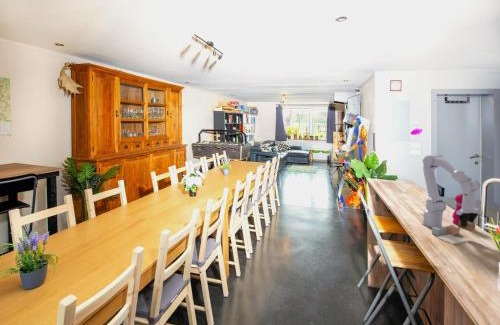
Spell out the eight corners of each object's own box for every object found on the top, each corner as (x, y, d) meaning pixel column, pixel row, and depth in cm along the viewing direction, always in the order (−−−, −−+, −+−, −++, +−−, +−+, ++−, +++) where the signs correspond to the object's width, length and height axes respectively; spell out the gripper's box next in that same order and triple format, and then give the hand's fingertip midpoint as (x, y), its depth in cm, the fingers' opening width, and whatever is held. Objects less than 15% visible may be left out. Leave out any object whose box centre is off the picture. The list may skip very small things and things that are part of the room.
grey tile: (437, 238, 159) (437, 236, 159) (449, 235, 162) (449, 234, 161) (453, 244, 150) (453, 242, 150) (465, 241, 153) (465, 240, 153)
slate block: (438, 236, 161) (438, 229, 161) (431, 234, 165) (432, 227, 164) (446, 235, 163) (446, 228, 162) (439, 232, 167) (440, 226, 166)
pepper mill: (452, 220, 185) (454, 190, 182) (466, 223, 180) (468, 192, 177) (451, 223, 179) (453, 192, 176) (465, 226, 175) (468, 194, 172)
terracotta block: (452, 235, 162) (452, 228, 162) (445, 233, 166) (445, 226, 165) (459, 233, 164) (459, 227, 164) (452, 231, 168) (452, 224, 167)
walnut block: (458, 227, 159) (459, 220, 159) (463, 226, 161) (464, 219, 160) (469, 231, 154) (470, 224, 153) (474, 230, 155) (475, 223, 154)
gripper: (466, 205, 149) (464, 230, 151) (486, 202, 154) (483, 226, 156) (453, 201, 156) (451, 225, 158) (472, 199, 160) (470, 222, 162)
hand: (466, 225), depth 157 cm, fingers closed on walnut block, 4 cm apart
